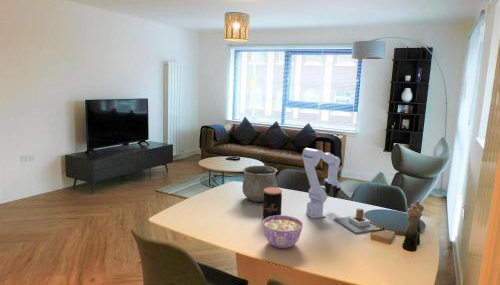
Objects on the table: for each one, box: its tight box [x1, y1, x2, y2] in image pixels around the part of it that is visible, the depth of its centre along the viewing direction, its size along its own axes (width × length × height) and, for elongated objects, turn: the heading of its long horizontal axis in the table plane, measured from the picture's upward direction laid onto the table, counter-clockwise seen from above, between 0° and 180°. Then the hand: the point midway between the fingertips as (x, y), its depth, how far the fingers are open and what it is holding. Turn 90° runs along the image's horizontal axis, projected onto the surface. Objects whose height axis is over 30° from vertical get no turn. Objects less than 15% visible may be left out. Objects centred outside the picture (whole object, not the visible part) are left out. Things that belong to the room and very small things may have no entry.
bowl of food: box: [262, 214, 304, 249], centre depth 181 cm, size 20×20×12 cm
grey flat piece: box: [334, 215, 376, 235], centre depth 209 cm, size 20×20×4 cm
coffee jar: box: [262, 187, 283, 220], centre depth 212 cm, size 11×11×18 cm
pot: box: [241, 165, 279, 203], centre depth 244 cm, size 25×24×21 cm
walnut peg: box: [355, 208, 365, 221], centre depth 208 cm, size 4×4×8 cm
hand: (331, 195), depth 230 cm, fingers open, 7 cm apart
